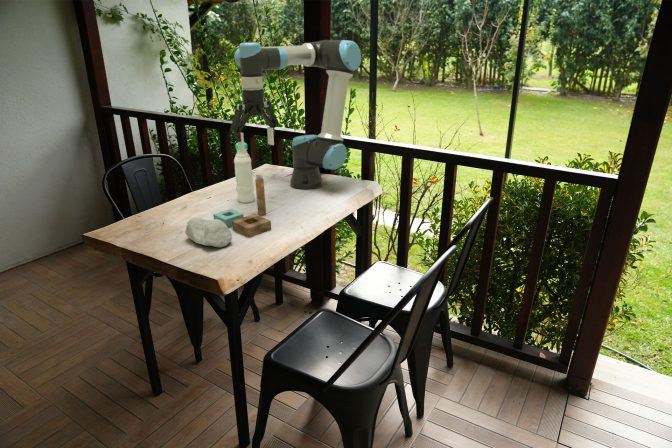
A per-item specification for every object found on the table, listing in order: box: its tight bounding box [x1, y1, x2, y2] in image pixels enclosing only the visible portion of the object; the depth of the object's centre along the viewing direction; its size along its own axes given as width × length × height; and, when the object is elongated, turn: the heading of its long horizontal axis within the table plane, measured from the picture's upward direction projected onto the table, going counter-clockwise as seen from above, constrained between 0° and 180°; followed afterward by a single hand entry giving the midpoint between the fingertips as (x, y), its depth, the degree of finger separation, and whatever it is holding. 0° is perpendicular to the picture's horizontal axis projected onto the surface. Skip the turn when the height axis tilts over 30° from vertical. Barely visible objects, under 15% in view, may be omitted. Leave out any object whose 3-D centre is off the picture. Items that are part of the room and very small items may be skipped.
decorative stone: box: [184, 217, 233, 248], centre depth 160 cm, size 17×10×10 cm
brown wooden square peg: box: [254, 174, 267, 217], centre depth 183 cm, size 3×3×16 cm
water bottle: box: [233, 142, 255, 204], centre depth 196 cm, size 7×7×25 cm
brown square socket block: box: [232, 213, 272, 238], centre depth 171 cm, size 10×10×4 cm
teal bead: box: [213, 208, 244, 229], centre depth 177 cm, size 8×8×4 cm
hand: (256, 147), depth 175 cm, fingers open, 13 cm apart
